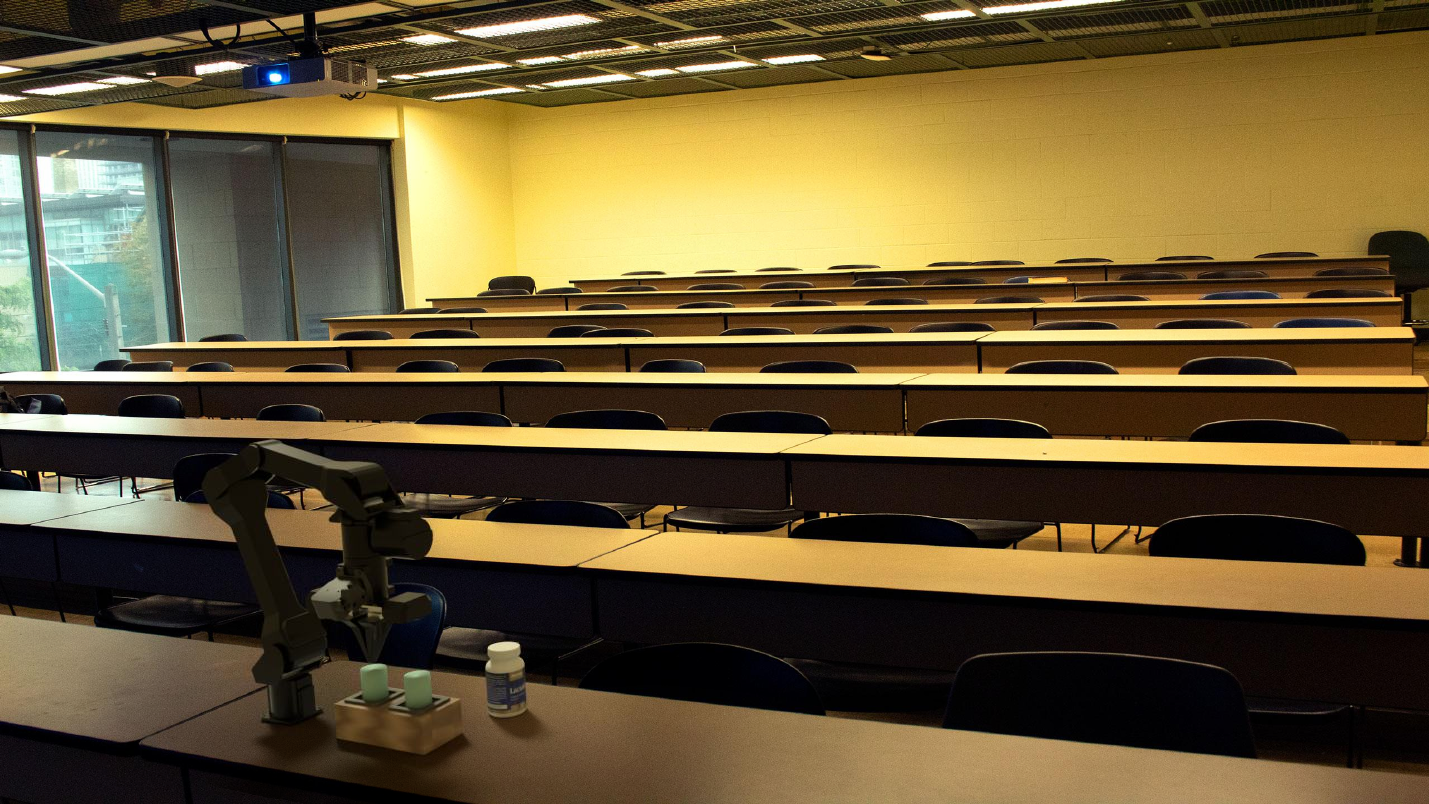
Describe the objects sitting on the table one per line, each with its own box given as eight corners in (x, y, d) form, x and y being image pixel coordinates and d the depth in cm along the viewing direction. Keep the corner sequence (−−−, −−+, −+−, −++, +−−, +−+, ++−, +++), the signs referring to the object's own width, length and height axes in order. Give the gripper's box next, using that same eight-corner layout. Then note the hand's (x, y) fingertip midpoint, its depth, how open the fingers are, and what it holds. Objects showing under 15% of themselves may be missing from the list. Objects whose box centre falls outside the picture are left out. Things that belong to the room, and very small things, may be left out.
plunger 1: (357, 706, 160) (354, 670, 159) (375, 697, 163) (372, 662, 162) (376, 709, 158) (373, 673, 158) (394, 700, 161) (392, 665, 161)
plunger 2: (400, 713, 156) (397, 677, 156) (418, 704, 159) (415, 669, 159) (420, 717, 155) (418, 680, 154) (438, 708, 158) (435, 672, 157)
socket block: (336, 738, 159) (333, 701, 159) (377, 717, 166) (374, 682, 166) (424, 755, 152) (421, 716, 151) (462, 733, 159) (460, 696, 159)
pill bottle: (518, 719, 163) (514, 652, 162) (481, 718, 164) (477, 651, 163) (532, 704, 169) (528, 640, 168) (497, 703, 170) (492, 639, 169)
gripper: (271, 562, 155) (280, 672, 157) (373, 573, 147) (382, 689, 149) (331, 544, 165) (339, 648, 167) (431, 553, 157) (438, 662, 158)
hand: (372, 661), depth 160 cm, fingers closed
